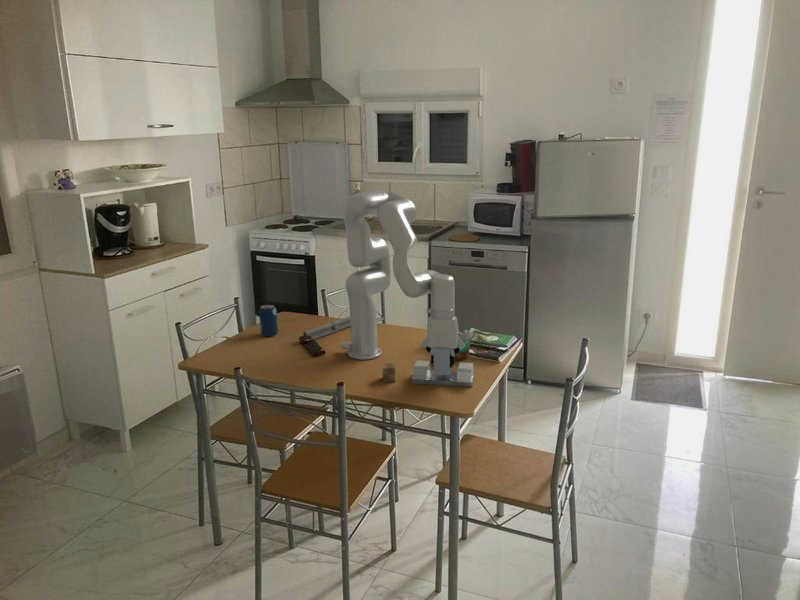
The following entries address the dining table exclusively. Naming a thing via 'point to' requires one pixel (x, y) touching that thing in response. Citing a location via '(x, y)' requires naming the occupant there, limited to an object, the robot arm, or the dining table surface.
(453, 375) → the rail
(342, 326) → the metal rod assembly
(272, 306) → the soda can
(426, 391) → the dining table surface
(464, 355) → the food container
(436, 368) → the grey-blue module block
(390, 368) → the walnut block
